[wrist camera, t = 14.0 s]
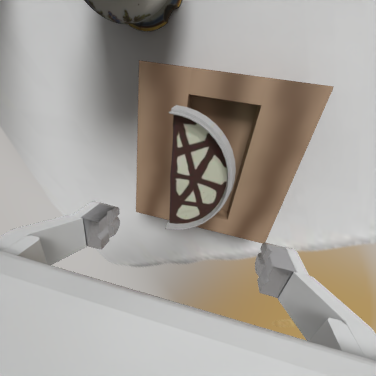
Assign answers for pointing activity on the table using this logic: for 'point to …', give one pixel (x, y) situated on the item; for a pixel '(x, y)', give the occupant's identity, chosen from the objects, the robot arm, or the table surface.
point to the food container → (198, 169)
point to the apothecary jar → (136, 12)
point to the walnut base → (235, 133)
